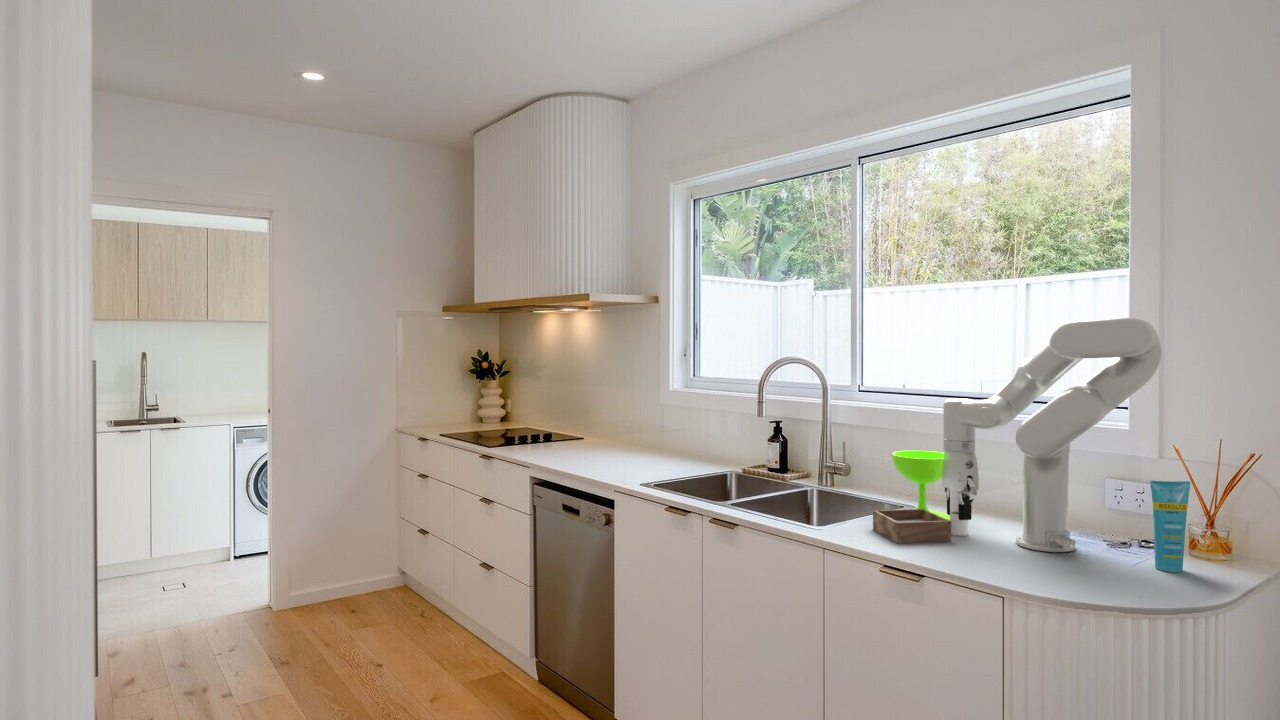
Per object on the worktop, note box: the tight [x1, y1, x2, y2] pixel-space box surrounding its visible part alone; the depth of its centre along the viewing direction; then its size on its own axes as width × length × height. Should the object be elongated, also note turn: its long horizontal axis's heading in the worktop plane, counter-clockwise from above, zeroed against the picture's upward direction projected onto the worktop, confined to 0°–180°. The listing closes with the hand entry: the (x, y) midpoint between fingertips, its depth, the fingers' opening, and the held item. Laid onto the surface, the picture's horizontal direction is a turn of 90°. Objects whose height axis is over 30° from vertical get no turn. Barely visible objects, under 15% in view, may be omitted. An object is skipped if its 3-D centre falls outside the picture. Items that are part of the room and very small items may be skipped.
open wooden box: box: [872, 508, 952, 544], centre depth 191 cm, size 14×14×5 cm
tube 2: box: [1149, 480, 1191, 573], centre depth 160 cm, size 7×5×19 cm, turn 81°
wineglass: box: [891, 450, 950, 520], centre depth 208 cm, size 16×16×18 cm
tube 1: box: [949, 487, 969, 537], centre depth 192 cm, size 4×4×15 cm
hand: (958, 516), depth 192 cm, fingers open, 4 cm apart
